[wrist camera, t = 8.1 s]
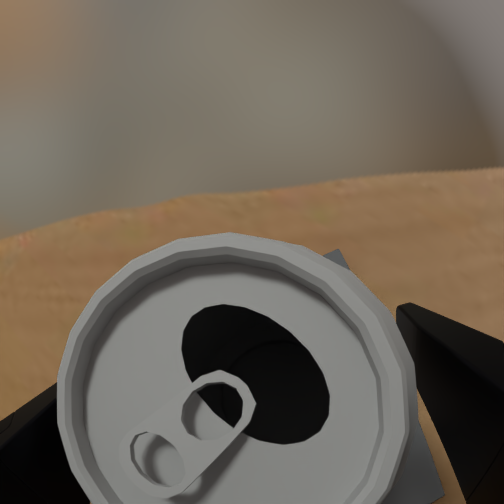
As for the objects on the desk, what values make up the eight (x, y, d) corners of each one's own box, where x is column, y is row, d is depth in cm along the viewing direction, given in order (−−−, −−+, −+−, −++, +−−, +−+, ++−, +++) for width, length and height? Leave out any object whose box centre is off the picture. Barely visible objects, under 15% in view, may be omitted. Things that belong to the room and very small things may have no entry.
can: (384, 384, 14) (528, 367, 3) (283, 491, 13) (219, 646, 2) (274, 296, 17) (204, 135, 6) (180, 397, 16) (-11, 382, 5)
